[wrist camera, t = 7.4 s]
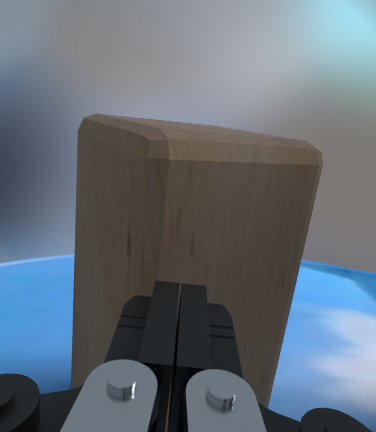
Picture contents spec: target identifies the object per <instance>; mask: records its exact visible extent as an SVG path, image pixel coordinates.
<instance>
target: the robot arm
mask: <svg viewBox="0 0 376 432" xmlns="http://www.w3.org/2000/svg"><path fill="white" fill-rule="evenodd" d="M179 287H180V283H175V282H166V281H158V280H156V281H155V285H154V289H153V294H152V297H149V296H140V295H135V296H134V297H132V298H131V299H130V300H129V301H127V302H126V303H125V305H124V307H123V310H122V313H121V317H120V318H119V321H118V324H117V327H116V330H115V332H114V335H113V338H112V341H111V344H110V346H109V349H108V352H107V355H106V358H105V360H104V363H103V364H102V365H100V366H98V367H97V368H96V369H94V370H93V371H92V372H91V373H90V375H89V376H88V378H87V379H86V381H85V383H84V384H83V385H81V386H79V387H77V388H74V389H70V390H66V391H60V392H54V393H47V394H41V395H40V393H39V388H38V386H37V384H36V383H35V382H34V381H33V380H32V379H30V378H28V377H27V376H24V375H20V374H0V432H165V427H166V419H167V411H168V403H169V414H168V427H167V432H372V431H371V430H369V429H368V428H367V427H365V426H364V425H363V424H362V423H360V422H359V421H357V420H356V419H354V418H353V417H351V416H349V415H347V414H345V413H343V412H341V411H337V410H334V409H329V408H315V409H312V410H310V411H308V412H307V413H306V414H304V416H303V417H302V419H301V422H299V421H296V420H294V419H291V418H288V417H286V416H283V415H280V414H278V413H276V412H273V411H271V410H269V409H268V408H266V407H264V406H263V405H261V404H260V403H259V402H258V401H257V399H256V396H255V394H254V391H253V390H252V388H251V387H250V385H249V384H248V383H247V382H246V381H245V380H243V375H242V369H241V364H240V358H239V353H238V348H237V342H236V340H235V338H236V337H235V332H234V326H233V321H232V315H231V314H230V313H229V312H228V311H227V309H226V308H225V307H224V306H223V305H222V304H213V303H207V290H206V286H203V285H194V284H185V283H182V285H181V293H180V301H179V309H178V299H179ZM177 311H178V317H177ZM176 324H177V325H176ZM170 387H171V390H170ZM169 395H170V402H169Z"/></svg>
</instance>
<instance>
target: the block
mask: <svg viewBox="0 0 376 432" xmlns="http://www.w3.org/2000/svg"><path fill="white" fill-rule="evenodd" d="M77 152H78V153H77V186H76V225H75V261H74V298H73V336H72V373H71V389H74V388H77V387H79V386H81V385H83V384H84V383H85V381H86V379H87V378H88V376H89V375H90V373H91V372H92V371H93V370H94V369H96V368H97V367H98V366H100V365H102V364H103V363H104V360H105V358H106V355H107V352H108V349H109V346H110V344H111V341H112V338H113V335H114V332H115V330H116V327H117V324H118V321H119V318H120V317H121V313H122V310H123V307H124V305H125V303H126V302H127V301H129V300H130V299H131V298H132V297H134V296H135V295H140V296H149V297H152V294H153V289H154V285H155V281H156V280H158V281H166V282H175V283H180V287H179V299H178V309H179V301H180V293H181V285H182V283H185V284H194V285H203V286H206V290H207V303H213V304H222V305H223V306H224V307H225V308H226V309H227V311H228V312H229V313H230V314H231V315H232V321H233V326H234V332H235V337H236V338H235V340H236V342H237V348H238V353H239V358H240V364H241V369H242V375H243V380H245V381H246V382H247V383H248V384H249V385H250V387H251V388H252V390H253V391H254V394H255V396H256V399H257V401H258V402H259V403H260V404H261V405H263V406H264V407H266V408H268V404H269V400H270V395H271V391H272V387H273V382H274V378H275V373H276V369H277V365H278V360H279V356H280V351H281V347H282V343H283V338H284V334H285V329H286V325H287V321H288V316H289V312H290V307H291V303H292V298H293V294H294V290H295V285H296V281H297V276H298V272H299V268H300V263H301V259H302V254H303V250H304V245H305V241H306V236H307V232H308V228H309V223H310V218H311V214H312V210H313V206H314V201H315V197H316V192H317V188H318V184H319V179H320V175H321V171H322V166H323V161H322V152H320V151H319V150H317V149H315V148H314V147H313V146H312V145H310V144H309V143H308V142H307V141H302V140H296V139H290V138H284V137H278V136H272V135H266V134H260V133H254V132H248V131H242V130H236V129H230V128H224V127H218V126H211V125H202V124H191V123H182V122H172V121H162V120H153V119H143V118H133V117H123V116H113V115H103V114H94V115H92V116H89V117H85V118H84V119H83V121H82V123H81V125H80V127H79V130H78V148H77ZM177 317H178V311H177ZM176 325H177V324H176ZM170 390H171V387H170ZM169 402H170V395H169ZM168 414H169V403H168V411H167V419H166V427H165V432H167V427H168Z"/></svg>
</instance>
